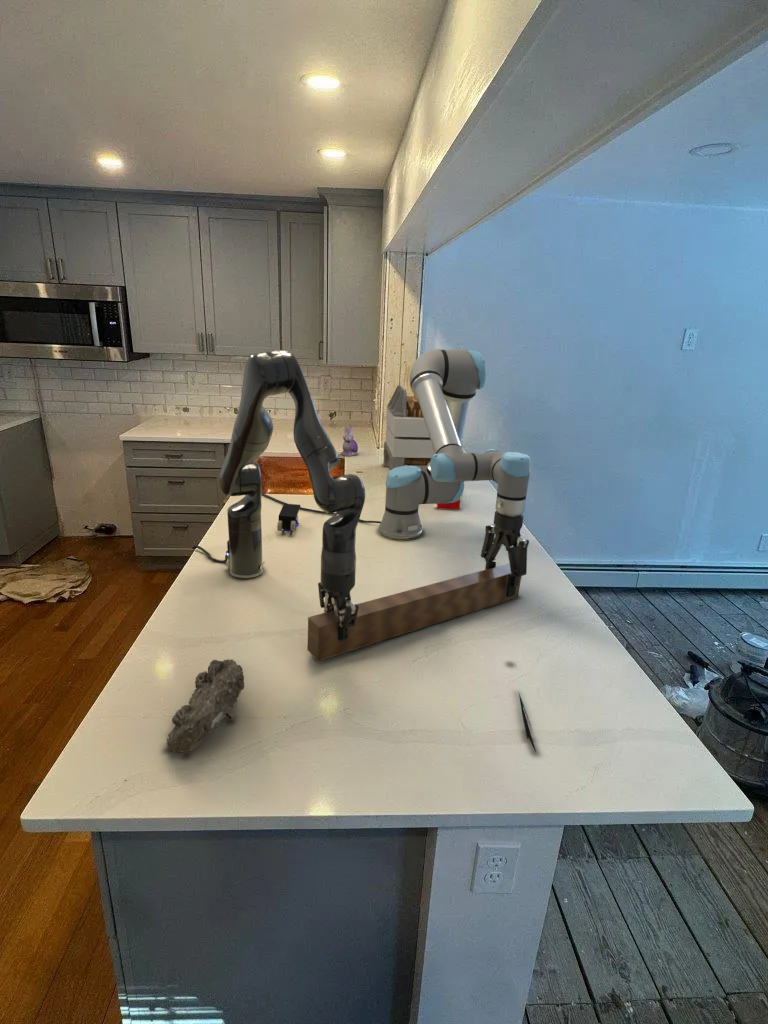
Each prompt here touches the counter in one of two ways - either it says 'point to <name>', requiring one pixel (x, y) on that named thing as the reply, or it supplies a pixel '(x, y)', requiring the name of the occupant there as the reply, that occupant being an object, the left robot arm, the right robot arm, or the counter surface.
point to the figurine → (349, 443)
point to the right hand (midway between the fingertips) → (499, 589)
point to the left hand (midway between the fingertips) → (336, 633)
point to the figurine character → (288, 518)
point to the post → (409, 611)
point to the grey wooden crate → (406, 433)
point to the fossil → (206, 705)
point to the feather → (526, 723)
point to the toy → (449, 505)
